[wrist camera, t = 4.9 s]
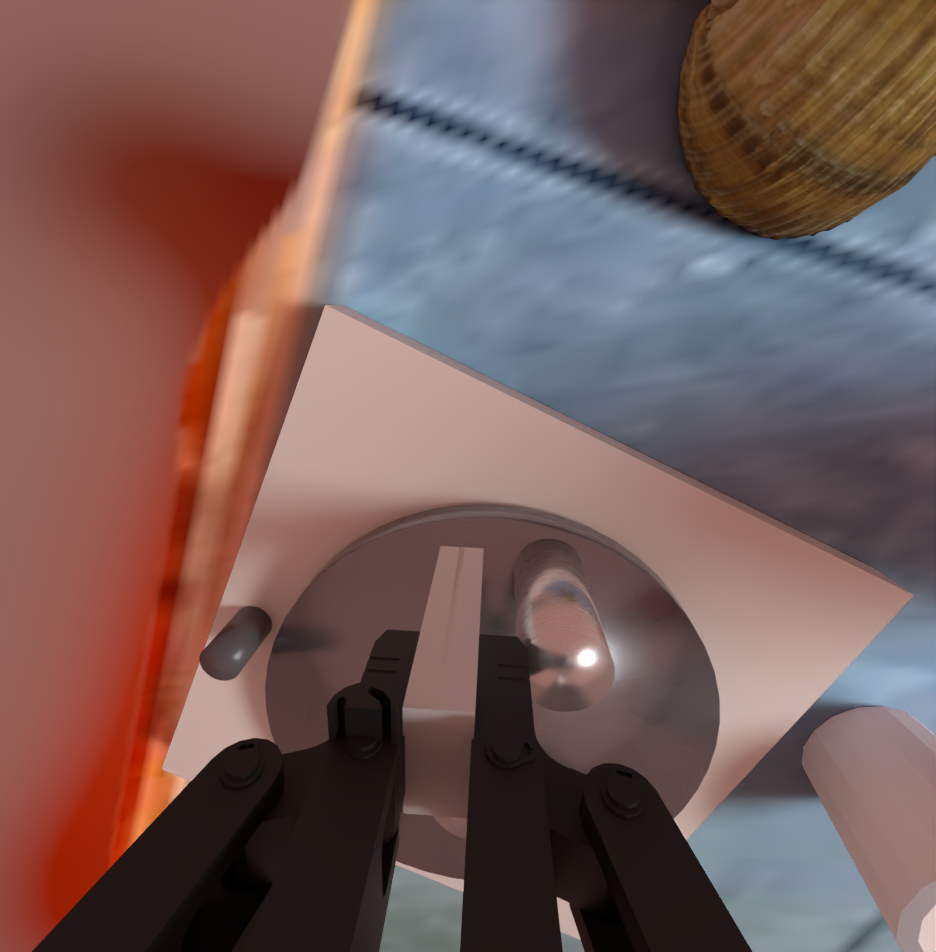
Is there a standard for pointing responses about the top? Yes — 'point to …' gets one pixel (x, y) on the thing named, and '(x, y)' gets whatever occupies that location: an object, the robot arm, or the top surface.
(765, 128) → the seashell
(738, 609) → the base plate
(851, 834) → the pale pink cylinder
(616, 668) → the flange plate
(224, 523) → the top surface
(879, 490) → the top surface
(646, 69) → the top surface
